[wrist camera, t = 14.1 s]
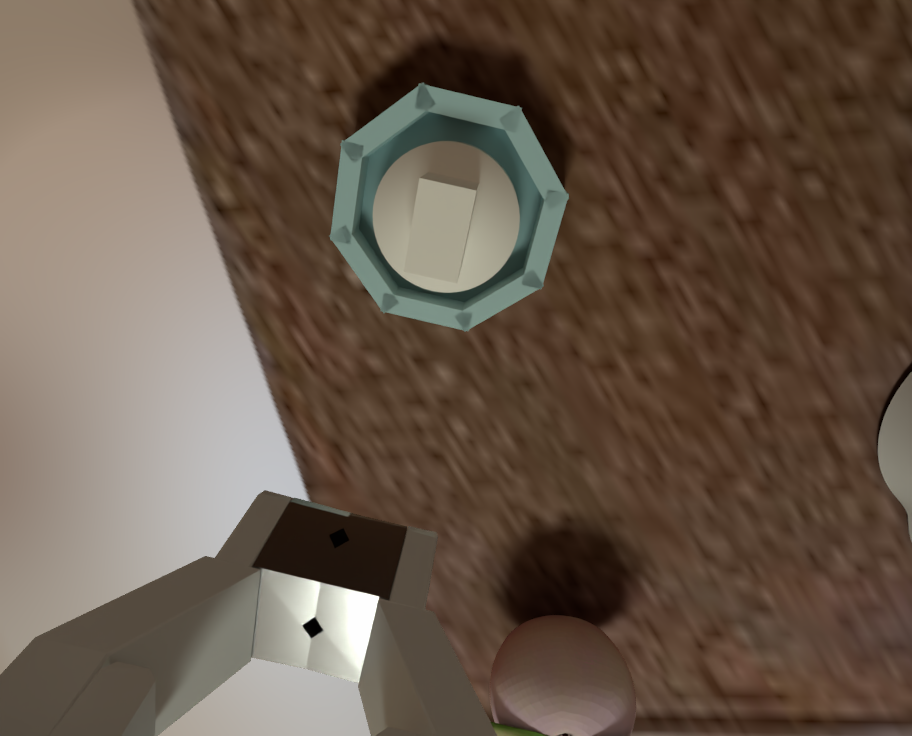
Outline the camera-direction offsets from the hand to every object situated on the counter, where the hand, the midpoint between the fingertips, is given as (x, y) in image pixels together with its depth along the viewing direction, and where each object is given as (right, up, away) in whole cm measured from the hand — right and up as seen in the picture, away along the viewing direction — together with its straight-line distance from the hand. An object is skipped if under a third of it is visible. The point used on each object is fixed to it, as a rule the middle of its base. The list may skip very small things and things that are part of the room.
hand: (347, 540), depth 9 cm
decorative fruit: (+9, -15, +30) cm, 35 cm away
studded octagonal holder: (+2, +11, +19) cm, 22 cm away
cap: (+1, +10, +18) cm, 21 cm away
